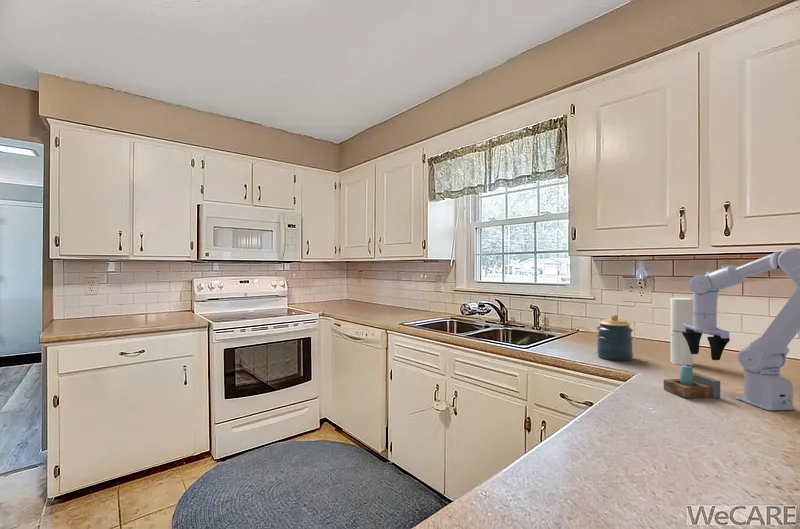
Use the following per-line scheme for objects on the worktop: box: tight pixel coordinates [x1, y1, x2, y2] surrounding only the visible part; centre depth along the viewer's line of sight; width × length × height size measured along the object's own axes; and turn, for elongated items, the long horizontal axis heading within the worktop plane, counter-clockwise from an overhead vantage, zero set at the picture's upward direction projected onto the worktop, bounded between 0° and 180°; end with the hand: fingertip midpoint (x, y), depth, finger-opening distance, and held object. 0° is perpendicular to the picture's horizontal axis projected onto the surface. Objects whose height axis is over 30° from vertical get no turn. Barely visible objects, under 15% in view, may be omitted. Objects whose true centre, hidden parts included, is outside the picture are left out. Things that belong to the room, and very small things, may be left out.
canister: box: [596, 314, 634, 362], centre depth 160 cm, size 13×13×18 cm
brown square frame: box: [663, 378, 711, 399], centre depth 116 cm, size 8×8×3 cm
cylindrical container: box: [669, 297, 694, 366], centre depth 150 cm, size 7×7×25 cm
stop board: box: [693, 371, 721, 399], centre depth 116 cm, size 10×2×5 cm, turn 4°
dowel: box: [679, 365, 694, 386], centre depth 116 cm, size 3×3×8 cm
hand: (704, 356), depth 122 cm, fingers open, 7 cm apart
